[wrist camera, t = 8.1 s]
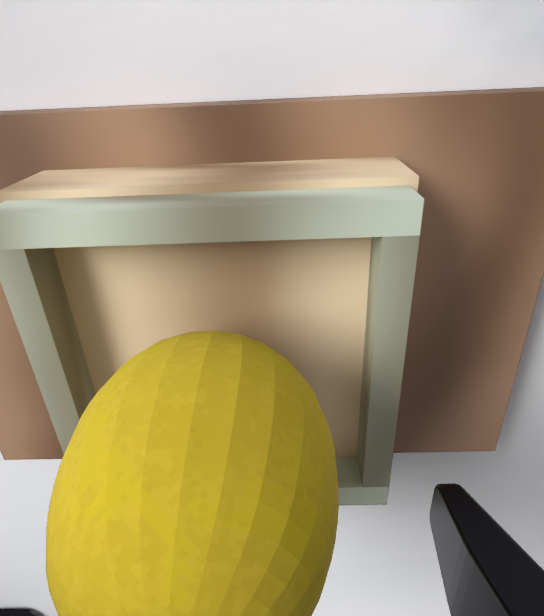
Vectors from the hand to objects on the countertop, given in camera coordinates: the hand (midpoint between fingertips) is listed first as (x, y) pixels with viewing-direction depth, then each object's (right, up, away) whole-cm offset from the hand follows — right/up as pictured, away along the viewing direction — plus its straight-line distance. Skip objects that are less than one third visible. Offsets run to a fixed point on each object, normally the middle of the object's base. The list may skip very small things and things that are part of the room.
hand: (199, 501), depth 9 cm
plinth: (0, +4, +8) cm, 9 cm away
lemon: (0, +2, +4) cm, 5 cm away
